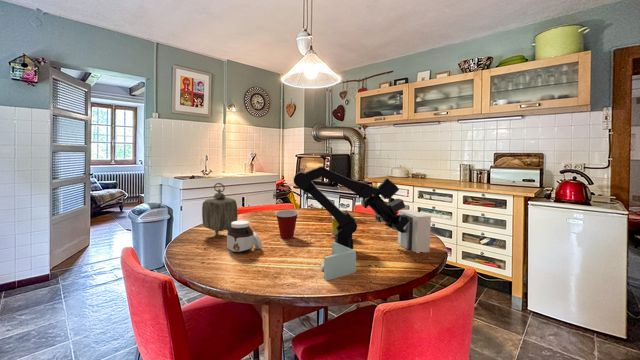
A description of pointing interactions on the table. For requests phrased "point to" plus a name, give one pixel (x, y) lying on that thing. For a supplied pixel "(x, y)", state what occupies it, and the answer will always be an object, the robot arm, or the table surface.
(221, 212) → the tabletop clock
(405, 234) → the light grey rectangular block
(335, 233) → the supplement bottle
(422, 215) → the housing
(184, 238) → the table surface
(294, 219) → the plastic cup
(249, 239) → the spread jar
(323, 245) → the table surface
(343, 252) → the l-shaped corner panel
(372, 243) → the table surface
